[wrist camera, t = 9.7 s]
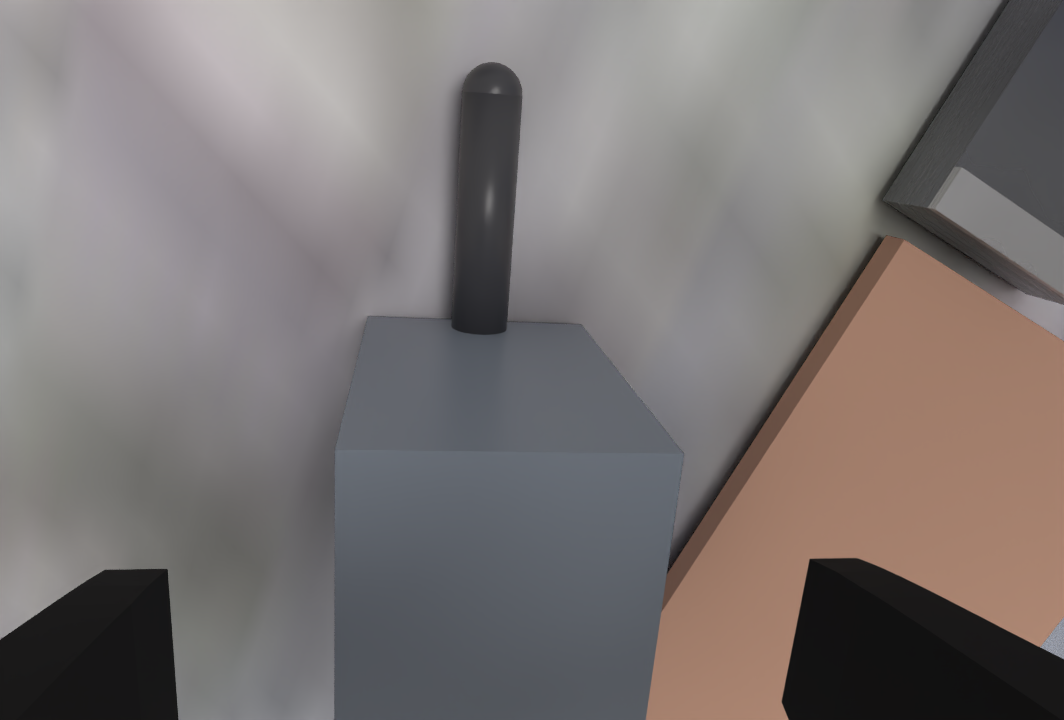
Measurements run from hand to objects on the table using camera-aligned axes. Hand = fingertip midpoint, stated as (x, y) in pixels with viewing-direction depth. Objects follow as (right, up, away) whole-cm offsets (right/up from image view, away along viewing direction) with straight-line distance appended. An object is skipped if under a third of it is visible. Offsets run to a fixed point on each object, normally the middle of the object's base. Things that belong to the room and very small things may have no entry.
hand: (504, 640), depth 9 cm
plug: (-1, +4, +6) cm, 7 cm away
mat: (+8, -2, +9) cm, 12 cm away
